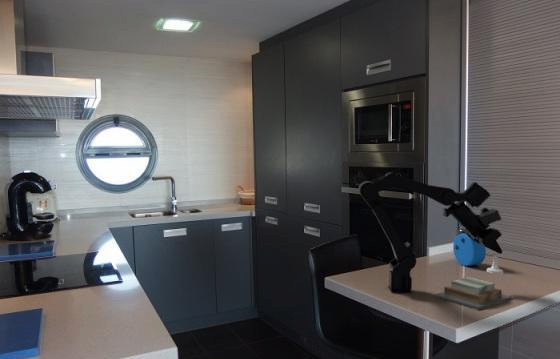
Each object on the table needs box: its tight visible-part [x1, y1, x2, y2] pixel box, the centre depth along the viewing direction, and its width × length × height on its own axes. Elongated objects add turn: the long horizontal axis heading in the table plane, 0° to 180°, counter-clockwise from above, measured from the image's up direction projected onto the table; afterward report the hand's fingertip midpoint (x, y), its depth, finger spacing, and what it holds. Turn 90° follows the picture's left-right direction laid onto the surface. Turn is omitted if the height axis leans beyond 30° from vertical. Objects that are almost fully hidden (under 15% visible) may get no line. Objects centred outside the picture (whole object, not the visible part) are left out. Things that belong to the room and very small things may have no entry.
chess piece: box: [486, 250, 504, 275], centre depth 142 cm, size 5×5×10 cm
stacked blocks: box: [443, 276, 503, 304], centre depth 138 cm, size 12×12×4 cm
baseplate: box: [433, 291, 512, 311], centre depth 138 cm, size 18×15×1 cm
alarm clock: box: [452, 227, 487, 268], centre depth 179 cm, size 13×6×15 cm, turn 15°
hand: (500, 252), depth 142 cm, fingers closed on chess piece
